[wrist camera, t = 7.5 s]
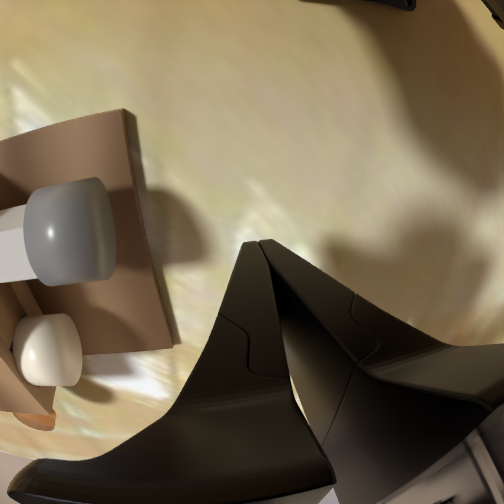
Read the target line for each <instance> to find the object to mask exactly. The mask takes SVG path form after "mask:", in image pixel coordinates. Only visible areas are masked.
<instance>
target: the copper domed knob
mask: <svg viewBox="0 0 504 504" xmlns="http://www.w3.org/2000/svg"><path fill="white" fill-rule="evenodd" d="M55 390H56V389H55ZM54 395H55V394H54ZM53 400H54V399H53ZM52 406H53V404H52ZM13 414H14V416H15V417H16V418H17V419H18V420H19V421H20V422H22V423H24V424H25V425H27V426H29V427H32V428H34V429H38V430H42V431H51V430H53V429H54V426H55V420H56V413H55V411H54V410H53V409H52V410H51V416H50V415H36V414H25V413H15V412H13Z"/></svg>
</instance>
